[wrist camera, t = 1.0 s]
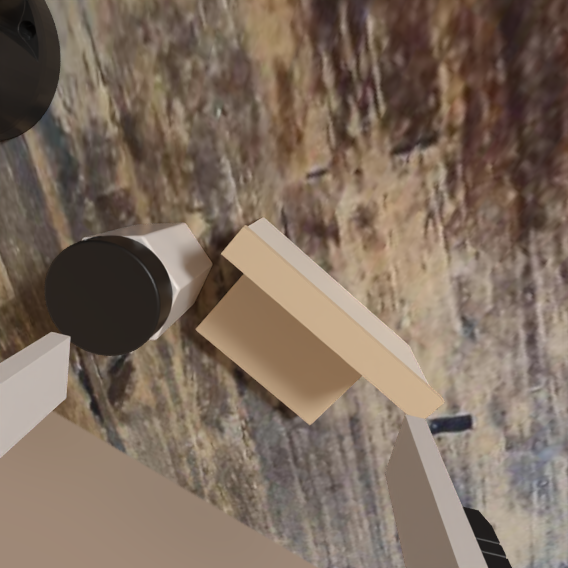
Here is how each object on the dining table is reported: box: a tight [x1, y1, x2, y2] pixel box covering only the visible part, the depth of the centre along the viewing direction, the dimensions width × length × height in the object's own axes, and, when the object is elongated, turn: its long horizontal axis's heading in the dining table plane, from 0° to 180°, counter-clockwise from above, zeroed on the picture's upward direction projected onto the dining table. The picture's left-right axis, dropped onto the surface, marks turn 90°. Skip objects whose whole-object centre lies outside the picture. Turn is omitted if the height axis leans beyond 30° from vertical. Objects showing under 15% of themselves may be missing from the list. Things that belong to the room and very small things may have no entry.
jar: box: [45, 223, 213, 356], centre depth 33 cm, size 9×8×12 cm
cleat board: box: [195, 217, 444, 425], centre depth 34 cm, size 18×12×11 cm, turn 49°
